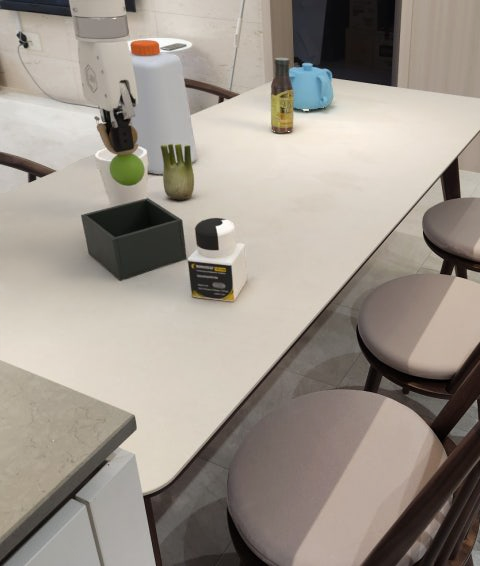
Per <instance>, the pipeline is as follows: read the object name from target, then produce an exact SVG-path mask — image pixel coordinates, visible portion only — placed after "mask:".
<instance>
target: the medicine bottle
mask: <svg viewBox="0 0 480 566" xmlns="http://www.w3.org/2000/svg"><path fill="white" fill-rule="evenodd" d="M194 234H195V242H196V248H195V250H194V251H193V252H192V254H191V255H189V257H188V258H187V265H188V267H187V268H188V275H189V282H190V283H189V284H190V292H191V296H192V298H198V299H204V300H205V299H206V300H214V301H223V302H231V303H233V302H235V301H236V299H237V298H238V296H239V294H240V293H241V291H242V289H243V288H244V287H245V286H244V285H246V284H247V282H248V275H247V274H248V273H247V272H248V271H247V257H246V244H244V243H241V242H240V243H239V242H236V241H237V240H236V228H235V224H234V223H233V222H232V221H231V220H229V219H226V218H223V217H211V218H210V217H209V218H207V219H203V220H201V221H199V222H198V223H197V224H196V225H195V226H194Z"/></svg>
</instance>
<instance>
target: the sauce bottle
mask: <svg viewBox="0 0 480 566" xmlns="http://www.w3.org/2000/svg"><path fill="white" fill-rule="evenodd" d="M290 63H291V62H290V58H288V57H275V58H274V65H275V68H274V75H275V76H274V78H273V79H272V81H271V84H270V125H271V131H272V130H273V131H275V132H274V133H276V132H288V131H291V130H292V129H293V130H294V108H293V88H292V84H291V81H290V77H289V69H290ZM293 130H292V131H293ZM273 131H272V132H273ZM292 131H291V132H292Z"/></svg>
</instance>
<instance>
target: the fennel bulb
mask: <svg viewBox="0 0 480 566" xmlns="http://www.w3.org/2000/svg"><path fill="white" fill-rule="evenodd" d="M168 148H169V153H168ZM168 148H167V145H161V151H162V156H163V163H164V171H163V174H162V180H163V182H162V183H163V189H164V193H165V195H166V196H167V197H169V198H171V199H173V200H180V201H181V200H182V201H184V200H187V199H189V198H191V197H192V196H193V192H194V188H195V175H194V169H193V162H191V150H190V145H184V160H185V162H184V160H183V154H182V147H181V144H175V150H176V156H177V163H176V159H175V154H174V149H173V144H168Z"/></svg>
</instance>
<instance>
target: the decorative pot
mask: <svg viewBox="0 0 480 566" xmlns="http://www.w3.org/2000/svg"><path fill="white" fill-rule="evenodd" d="M313 65H314V64H313V63H310V62H304V63H302V64H301V66H299V67H296V66H293V67H289V77H290V81H291V84H292V88H293V109H297V110H302V109H310V110H316V109H317V110H319V109H318V108H323V107H325V108H326V107H328V105H329V106H330V105H331V104H332V102H333V101H334V90H333V89H334V88H333V85H332V81H333V73H332V71H331V70H329V69H327V68H319V67H315V66H313Z"/></svg>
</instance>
